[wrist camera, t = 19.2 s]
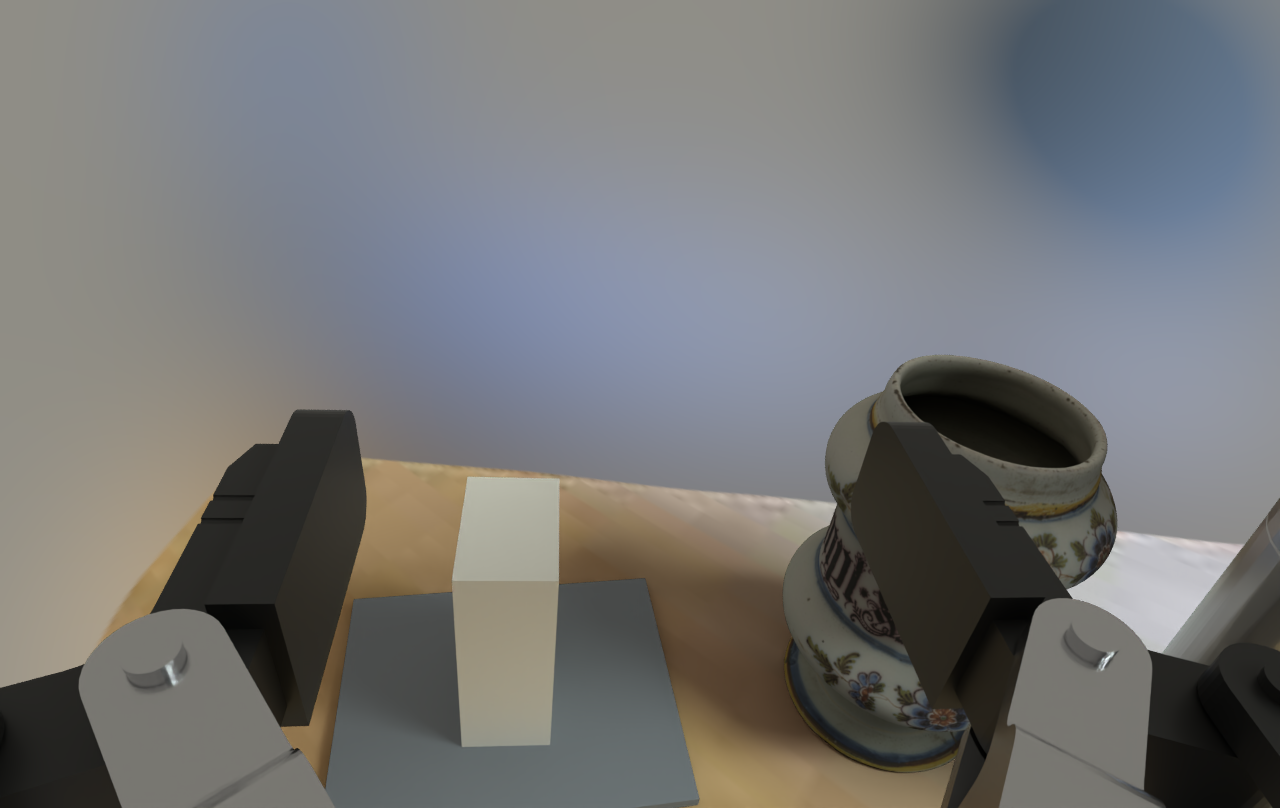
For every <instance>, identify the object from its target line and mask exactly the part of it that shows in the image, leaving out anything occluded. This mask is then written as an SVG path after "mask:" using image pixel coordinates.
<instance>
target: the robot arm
mask: <svg viewBox="0 0 1280 808" xmlns="http://www.w3.org/2000/svg"><path fill="white" fill-rule="evenodd" d="M365 518H366V487H365V480H364V474H363V467H362V461H361V455H360V448H359V442H358V436H357V429H356V423H355V418H354V416H353V413H352V412H351V411H350V410H296V411H295V412H294V413H293V414H292V416H291V419H290V420H289V423H288V425H287V427H286V429H285V432H284V433H283V436H282V438H281V440H280V442H279V444H255V445H254V446H253V447H252V448H250V449H249V450H248V451H247V452H246V453H244V454H243V455H242V456H241V457H240V458H238V459H237V460H236V461H235V462H234V463H232V465H230V466H229V467H228V468H227V470H226V472H225V474H224V476H223V477H222V479H221V481H220V483H219V485H218V487H217V489H216V491H215V493H214V494H213V501H210V502H209V504H208V506H207V508H206V510H205V512H204V513H203V515H202V517H201V524H198V525H197V527H196V529H195V530H194V532H193V534H192V536H191V538H190V540H189V542H188V544H187V546H186V548H185V549H184V551H183V553H182V555H181V557H180V559H179V561H178V563H177V565H176V566H175V568H174V570H173V572H172V574H171V576H170V578H169V580H168V582H167V584H166V585H165V587H164V589H163V591H162V593H161V595H160V597H159V599H158V601H157V603H156V604H155V606H154V608H153V610H152V612H151V613H150V614H149V615H146V616H144V617H141V618H139V619H136V620H134V621H132V622H130V623H128V624H126V625H124V626H123V627H121V628H120V629H118V630H117V631H115V632H113V633H112V634H111V635H110V636H108V637H107V638H106V639H105V640H103V641H102V642H101V643H100V645H99V646H98V647H97V648H96V649H95V650H94V651H93V652H92V654H91V655H90V656H89V658H88V659H87V661H86V663H85V664H83V665H81V666H78V667H75V668H72V669H69V670H66V671H63V672H59V673H55V674H51V675H48V676H44V677H40V678H36V679H32V680H29V681H25V682H21V683H17V684H14V685H10V686H6V687H2V688H0V808H335V806H334V804H333V803H332V801H331V799H330V798H329V796H328V794H327V792H326V791H325V789H324V787H323V785H322V784H321V782H320V780H319V778H318V777H317V775H316V773H315V772H314V770H313V768H312V766H311V765H310V763H309V762H308V760H307V759H306V757H305V756H304V754H303V753H302V752H301V751H300V750H299V749H298V748H296V749H295V750H294V749H293V748H292V746H291V745H290V743H289V742H288V740H287V738H286V737H285V735H284V733H283V731H282V730H281V728H280V727H287V726H309V723H310V720H311V716H312V712H313V709H314V705H315V702H316V698H317V695H318V691H319V687H320V684H321V680H322V677H323V673H324V670H325V666H326V662H327V659H328V655H329V652H330V648H331V645H332V641H333V637H334V634H335V630H336V627H337V623H338V620H339V616H340V612H341V609H342V605H343V602H344V598H345V595H346V591H347V587H348V584H349V580H350V577H351V573H352V570H353V566H354V563H355V559H356V555H357V552H358V548H359V545H360V541H361V538H362V534H363V530H364V525H365ZM851 520H852V525H853V529H854V532H855V535H856V537H857V539H858V541H859V544H860V546H861V548H862V551H863V553H864V555H865V557H866V560H867V562H868V564H869V567H870V569H871V571H872V573H873V576H874V578H875V580H876V583H877V585H878V587H879V589H880V592H881V594H882V596H883V599H884V601H885V603H886V605H887V608H888V610H889V612H890V615H891V617H892V619H893V621H894V624H895V626H896V628H897V631H898V633H899V635H900V637H901V640H902V642H903V644H904V647H905V649H906V651H907V653H908V656H909V658H910V660H911V663H912V665H913V667H914V669H915V672H916V674H917V676H918V679H919V681H920V683H921V685H922V688H923V690H924V692H925V695H926V697H927V699H928V701H929V704H930V706H931V708H932V709H957V708H963V709H964V711H965V713H966V716H967V718H968V720H969V724H968V726H967V728H966V729H965V731H964V733H963V736H962V738H961V742H960V745H959V748H958V752H957V755H956V758H955V762H954V765H953V768H952V772H951V775H950V778H949V782H948V785H947V788H946V792H945V795H944V798H943V802H942V805H941V808H1280V498H1279V500H1278V501H1277V502H1276V504H1275V505H1274V506H1273V508H1272V509H1271V511H1270V512H1269V513H1268V515H1267V516H1266V517H1265V519H1264V520H1263V521H1262V523H1261V524H1260V525H1259V527H1258V528H1257V529H1256V531H1255V532H1254V533H1253V534H1252V536H1251V537H1250V539H1249V540H1248V541H1247V542H1246V544H1245V545H1244V546H1243V548H1242V549H1241V550H1240V551H1239V553H1238V554H1237V555H1236V557H1235V558H1234V559H1233V561H1232V562H1231V563H1230V565H1229V566H1228V567H1227V569H1226V570H1225V571H1224V572H1223V574H1222V575H1221V576H1220V578H1219V579H1218V580H1217V582H1216V583H1215V584H1214V586H1213V587H1212V588H1211V590H1210V591H1209V592H1208V594H1207V595H1206V596H1205V597H1204V599H1203V600H1202V601H1201V603H1200V604H1199V605H1198V607H1197V608H1196V609H1195V611H1194V612H1193V613H1192V615H1191V616H1190V617H1189V618H1188V620H1187V621H1186V622H1185V624H1184V625H1183V626H1182V628H1181V629H1180V630H1179V632H1178V633H1177V634H1176V636H1175V637H1174V638H1173V639H1172V641H1171V642H1170V643H1169V645H1168V646H1167V647H1166V649H1165V650H1164V651H1163V653H1162V654H1161V653H1157V652H1153V651H1150V650H1147V649H1146V647H1145V645H1144V644H1143V642H1142V641H1141V639H1140V638H1139V637H1138V636H1137V635H1136V634H1135V632H1134V631H1133V630H1132V629H1130V628H1129V627H1128V626H1127V625H1126V624H1125V623H1124V622H1122V621H1121V620H1120V619H1118V618H1117V617H1115V616H1114V615H1112V614H1111V613H1109V612H1107V611H1105V610H1103V609H1101V608H1099V607H1097V606H1095V605H1092V604H1090V603H1087V602H1084V601H1080V600H1075V599H1073V598H1072V597H1071V596H1070V594H1069V593H1068V591H1067V590H1066V588H1065V587H1064V585H1063V584H1062V582H1061V581H1060V580H1059V578H1058V577H1057V575H1056V574H1055V572H1054V571H1053V569H1052V568H1051V567H1050V565H1049V564H1048V562H1047V561H1046V559H1045V558H1044V556H1043V555H1042V553H1041V552H1040V551H1039V549H1038V548H1037V546H1036V545H1035V543H1034V542H1033V540H1032V539H1031V538H1030V536H1029V535H1028V533H1027V532H1026V530H1025V529H1024V527H1023V526H1019V520H1018V519H1017V517H1016V516H1015V514H1014V513H1013V511H1012V510H1011V509H1010V507H1009V506H1005V500H1004V498H1003V497H1002V495H1001V494H1000V493H999V491H998V490H997V488H996V487H995V485H994V484H993V482H992V481H991V480H990V478H989V477H988V476H987V475H986V474H985V473H984V472H982V471H981V470H980V469H979V468H977V467H976V466H975V465H974V464H972V463H971V462H970V461H969V460H967V459H966V458H965V457H964V456H962V455H961V454H952V453H951V452H950V450H949V449H948V447H947V446H946V444H945V443H944V441H943V440H942V438H941V437H940V435H939V434H938V432H937V431H936V429H935V428H934V426H933V425H931V424H930V423H927V422H880V423H879V424H878V425H877V426H876V427H875V429H874V431H873V434H872V437H871V440H870V443H869V446H868V449H867V452H866V455H865V458H864V461H863V464H862V467H861V470H860V473H859V476H858V479H857V482H856V485H855V488H854V491H853V494H852V499H851Z"/></svg>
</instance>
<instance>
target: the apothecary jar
mask: <svg viewBox="0 0 1280 808" xmlns="http://www.w3.org/2000/svg"><path fill="white" fill-rule="evenodd" d="M880 422H927V423H930V424H931V425H933V426H934V428H935V429H936V431H937V432H938V434H939V435H940V437H941V438H942V440H943V441H944V443H945V444H946V446H947V447H948V449H949V450H950V452H951V453H952V454H961V455H962V456H964V457H965V458H966V459H967V460H969V461H970V462H971V463H972V464H974V465H975V466H976V467H977V468H979V469H980V470H981V471H982V472H984V473H985V474H986V475H987V476H988V477H989V478H990V480H991V481H992V482H993V484H994V485H995V487H996V488H997V490H998V491H999V493H1000V494H1001V495H1002V497H1003V498H1004V500H1005V506H1009V507H1010V509H1011V510H1012V511H1013V513H1014V514H1015V516H1016V517H1017V519H1018V520H1019V526H1023V527H1024V529H1025V530H1026V532H1027V533H1028V535H1029V536H1030V538H1031V539H1032V540H1033V542H1034V543H1035V545H1036V546H1037V548H1038V549H1039V551H1040V552H1041V553H1042V555H1043V556H1044V558H1045V559H1046V561H1047V562H1048V564H1049V565H1050V567H1051V568H1052V569H1053V571H1054V572H1055V574H1056V575H1057V577H1058V578H1059V580H1060V581H1061V582H1062V584H1063V585H1064V587H1065V588H1066V589H1069V588H1071V587H1074V586H1076V585H1078V584H1079V583H1081V582H1083V581H1085V580H1086V579H1088V578H1089V577H1090V576H1091V575H1093V574H1094V573H1095V572H1096V571H1097V570H1098V569H1099V568H1100V567H1101V566H1102V565H1103V563H1104V562H1105V560H1106V559H1107V558H1108V556H1109V554H1110V552H1111V550H1112V548H1113V545H1114V542H1115V538H1116V533H1117V513H1116V508H1115V503H1114V500H1113V496H1112V494H1111V491H1110V489H1109V486H1108V485H1107V482H1106V481H1105V479H1104V477H1103V475H1102V474H1101V472H1102V470H1101V469H1102V465H1103V463H1104V461H1105V457H1106V454H1107V438H1106V434H1105V432H1104V430H1103V427H1102V425H1101V424H1100V422H1099V421H1098V420H1097V419H1096V418H1095V416H1094V415H1093V414H1092V413H1091V412H1090V411H1089V410H1088V409H1087V408H1086V407H1084V406H1083V405H1082V404H1081V403H1080V402H1079V401H1077V400H1076V399H1075V398H1073V397H1072V396H1070V395H1069V394H1068V393H1066V392H1064V391H1063V390H1061V389H1060V388H1058V387H1056V386H1054V385H1052V384H1051V383H1049V382H1047V381H1045V380H1042V379H1040V378H1038V377H1036V376H1033V375H1031V374H1029V373H1026V372H1023V371H1021V370H1018V369H1015V368H1012V367H1009V366H1006V365H1002V364H999V363H995V362H991V361H987V360H981V359H976V358H970V357H963V356H954V355H932V356H923V357H918V358H915V359H912V360H909V361H908V362H905V363H904V364H902V365H901V366H900V367H899V368H898V369H897V370H896V371H895V372H894V374H893V375H892V377H891V378H890V380H889V381H888V383H887V385H886V388H885V390H884V391H883V392H880V393H877V394H875V395H872V396H870V397H867V398H865V399H864V400H862V401H860V402H858V403H857V404H855V405H854V406H853V407H852V408H850V409H849V410H848V411H847V412H846V413H845V414H844V415H843V416H842V417H841V418H840V419H839V421H838V422H837V424H836V425H835V427H834V429H833V431H832V433H831V435H830V438H829V440H828V444H827V449H826V456H825V469H826V476H827V481H828V484H829V487H830V490H831V492H832V495H833V497H834V499H835V500H836V502H837V506H836V509H835V512H834V515H833V517H832V520H831V523H830V525H829V526H827V527H825V528H823V529H821V530H819V531H817V532H816V533H814V534H813V535H811V536H810V537H809V538H808V539H807V540H806V541H805V542H804V543H803V544H802V545H801V546H800V547H799V548H798V550H797V551H796V553H795V554H794V556H793V557H792V559H791V561H790V563H789V565H788V568H787V571H786V574H785V578H784V584H783V607H784V613H785V618H786V622H787V625H788V628H789V630H790V632H791V635H792V638H791V640H790V642H789V644H788V647H787V650H786V654H785V659H784V672H785V679H786V683H787V687H788V691H789V693H790V696H791V698H792V700H793V702H794V705H795V707H796V708H797V710H798V712H799V713H800V715H801V716H802V717H803V719H804V720H805V721H806V722H807V724H808V725H809V726H810V727H811V729H812V730H813V731H815V732H816V733H817V734H818V735H819V736H820V737H821V738H822V739H824V740H825V741H826V742H828V743H829V744H830V745H831V746H833V747H834V748H835V749H837V750H838V751H840V752H841V753H843V754H845V755H846V756H848V757H850V758H852V759H854V760H856V761H859V762H861V763H863V764H866V765H869V766H872V767H875V768H879V769H883V770H888V771H893V772H921V771H926V770H930V769H934V768H937V767H940V766H943V765H945V764H947V763H948V762H950V761H951V760H953V759H954V758H956V755H957V752H958V748H959V745H960V742H961V738H962V736H963V733H964V731H965V729H966V728H967V726H968V724H969V720H968V718H967V716H966V713H965V711H964V709H963V708H957V709H932V708H931V706H930V704H929V701H928V699H927V697H926V695H925V692H924V690H923V688H922V685H921V683H920V681H919V679H918V676H917V674H916V672H915V669H914V667H913V665H912V663H911V660H910V658H909V656H908V653H907V651H906V649H905V647H904V644H903V642H902V640H901V637H900V635H899V633H898V631H897V628H896V626H895V624H894V621H893V619H892V617H891V615H890V612H889V610H888V608H887V605H886V603H885V601H884V599H883V596H882V594H881V592H880V589H879V587H878V585H877V583H876V580H875V578H874V576H873V573H872V571H871V569H870V567H869V564H868V562H867V560H866V557H865V555H864V553H863V551H862V548H861V546H860V544H859V541H858V539H857V537H856V535H855V532H854V529H853V525H852V520H851V499H852V494H853V491H854V488H855V485H856V482H857V479H858V476H859V473H860V470H861V467H862V464H863V461H864V458H865V455H866V452H867V449H868V446H869V443H870V440H871V437H872V434H873V431H874V429H875V427H876V426H877V425H878V424H879V423H880Z"/></svg>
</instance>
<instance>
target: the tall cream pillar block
mask: <svg viewBox="0 0 1280 808" xmlns="http://www.w3.org/2000/svg"><path fill="white" fill-rule="evenodd" d="M558 589H559V479H553V478H503V477H468V478H467V485H466V491H465V498H464V504H463V511H462V517H461V524H460V530H459V537H458V543H457V550H456V556H455V563H454V569H453V576H452V593H453V610H454V626H455V643H456V659H457V676H458V692H459V709H460V725H461V742H462V747H484V746H528V745H550V737H551V719H552V700H553V682H554V663H555V644H556V626H557V607H558Z"/></svg>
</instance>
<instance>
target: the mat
mask: <svg viewBox="0 0 1280 808" xmlns="http://www.w3.org/2000/svg"><path fill="white" fill-rule="evenodd" d="M325 791H326V792H327V794H328V796H329V798H330V799H331V801H332V803H333V804H334V806H335V808H679V807H686V806H693V805H698V803H699V795H698V791H697V787H696V783H695V779H694V775H693V770H692V766H691V762H690V758H689V754H688V750H687V746H686V742H685V738H684V734H683V730H682V726H681V722H680V718H679V714H678V710H677V705H676V701H675V697H674V693H673V689H672V685H671V681H670V677H669V673H668V669H667V665H666V661H665V657H664V653H663V649H662V645H661V640H660V636H659V632H658V628H657V624H656V620H655V616H654V612H653V608H652V604H651V600H650V596H649V592H648V588H647V584H646V580H645V578H641V579H627V580H613V581H599V582H585V583H572V584H559V589H558V607H557V626H556V644H555V663H554V682H553V700H552V719H551V737H550V745H528V746H484V747H462V742H461V725H460V709H459V692H458V676H457V659H456V643H455V626H454V610H453V593H452V592H447V593H433V594H420V595H406V596H392V597H378V598H364V599H354V602H353V608H352V615H351V622H350V628H349V635H348V642H347V648H346V655H345V662H344V668H343V675H342V681H341V688H340V695H339V701H338V708H337V715H336V721H335V728H334V735H333V741H332V748H331V754H330V761H329V768H328V774H327V781H326V788H325Z"/></svg>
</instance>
